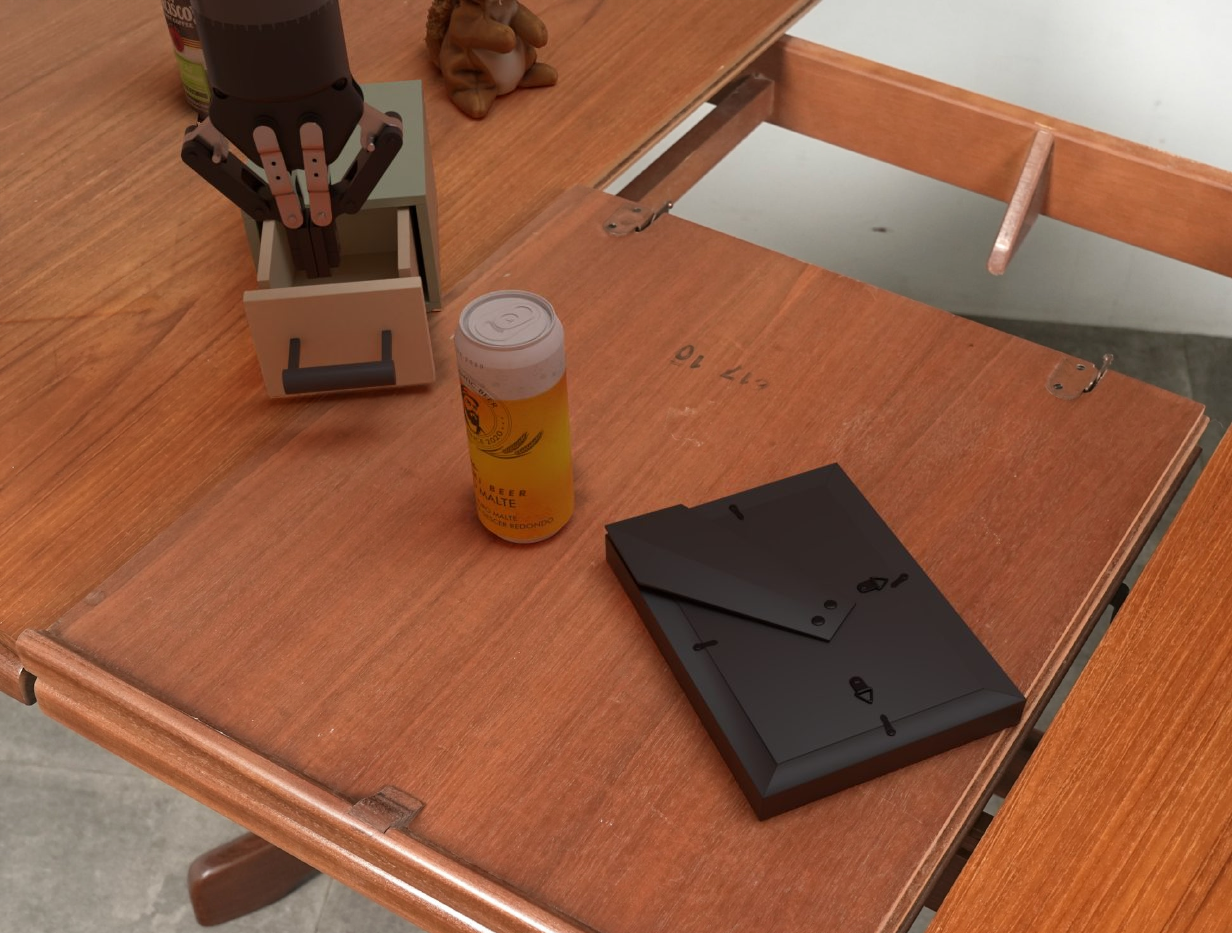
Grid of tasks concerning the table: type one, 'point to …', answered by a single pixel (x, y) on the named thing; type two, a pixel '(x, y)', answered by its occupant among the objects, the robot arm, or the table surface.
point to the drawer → (343, 310)
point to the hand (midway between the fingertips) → (320, 270)
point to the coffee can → (189, 55)
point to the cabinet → (389, 178)
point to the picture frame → (807, 637)
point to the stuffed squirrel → (486, 50)
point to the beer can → (516, 414)
